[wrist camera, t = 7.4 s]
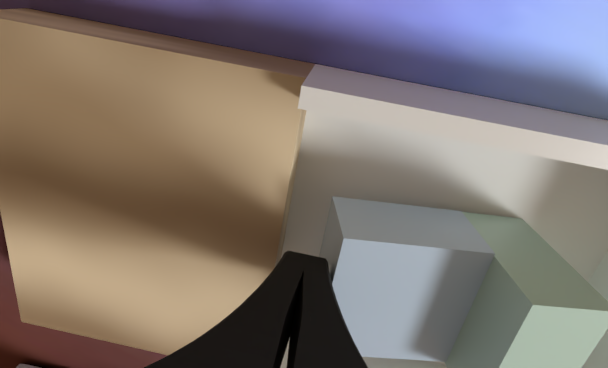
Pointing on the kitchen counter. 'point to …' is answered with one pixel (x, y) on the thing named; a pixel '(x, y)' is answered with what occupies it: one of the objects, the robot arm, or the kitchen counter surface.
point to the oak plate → (141, 176)
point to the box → (451, 167)
